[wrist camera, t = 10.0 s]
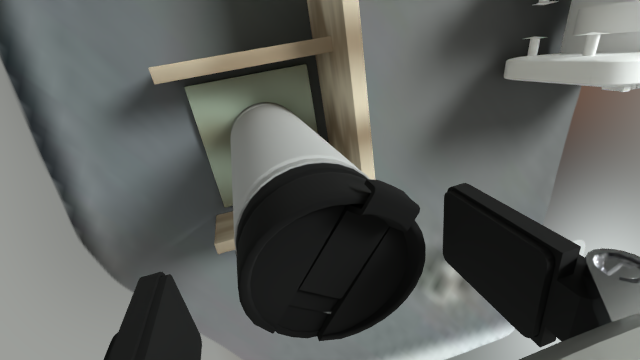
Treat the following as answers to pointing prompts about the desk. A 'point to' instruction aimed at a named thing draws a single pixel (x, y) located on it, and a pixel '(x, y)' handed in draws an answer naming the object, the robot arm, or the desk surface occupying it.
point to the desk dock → (284, 94)
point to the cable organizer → (588, 48)
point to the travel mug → (315, 231)
